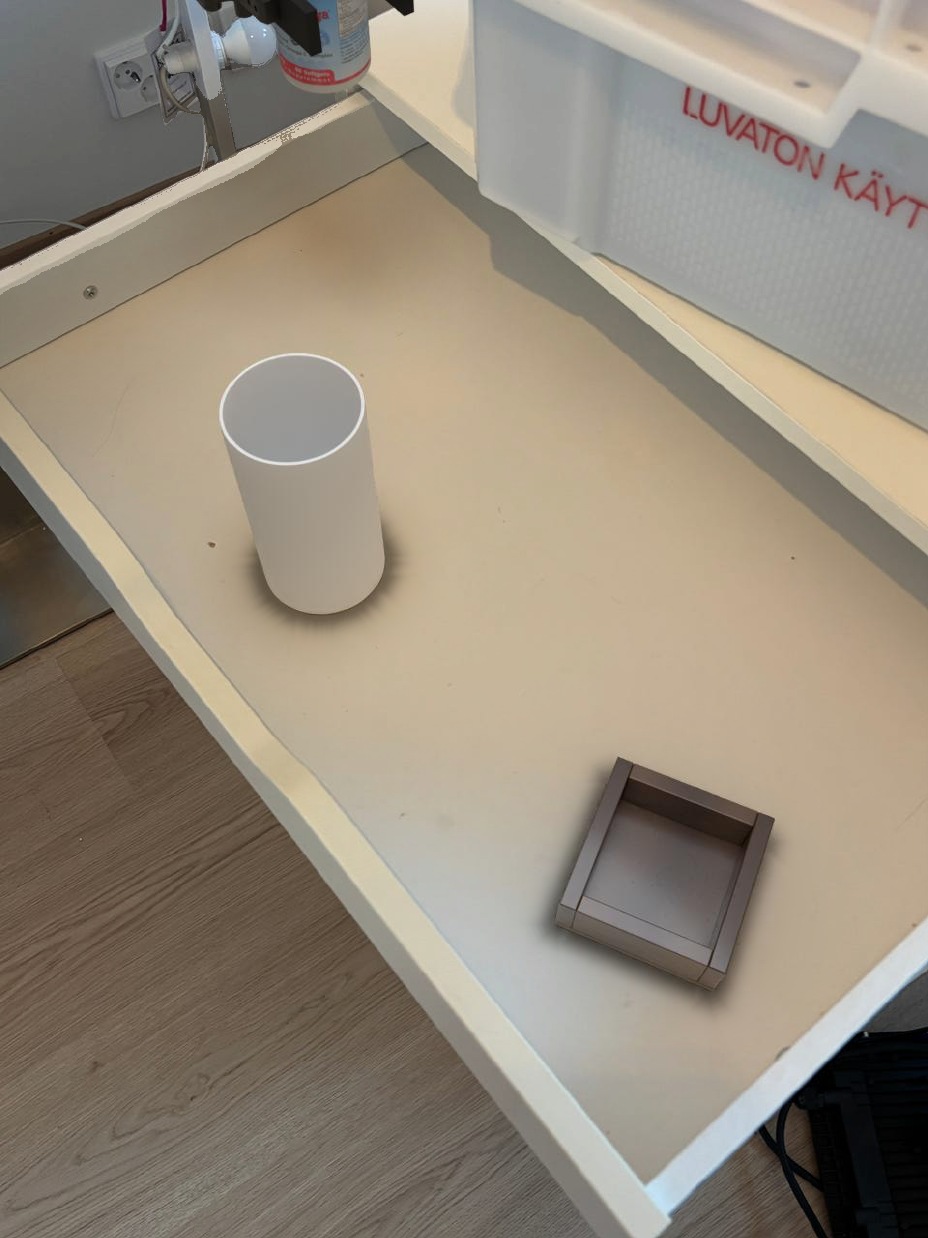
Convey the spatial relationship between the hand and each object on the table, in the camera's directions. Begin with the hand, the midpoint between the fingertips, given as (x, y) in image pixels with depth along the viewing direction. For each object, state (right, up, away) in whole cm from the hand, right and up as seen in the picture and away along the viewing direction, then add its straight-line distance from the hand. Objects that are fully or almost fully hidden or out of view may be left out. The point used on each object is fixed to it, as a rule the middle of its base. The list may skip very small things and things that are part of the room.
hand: (361, 12), depth 69 cm
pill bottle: (-3, 0, +8) cm, 8 cm away
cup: (-3, -33, +9) cm, 34 cm away
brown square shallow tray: (+17, -52, -3) cm, 55 cm away
